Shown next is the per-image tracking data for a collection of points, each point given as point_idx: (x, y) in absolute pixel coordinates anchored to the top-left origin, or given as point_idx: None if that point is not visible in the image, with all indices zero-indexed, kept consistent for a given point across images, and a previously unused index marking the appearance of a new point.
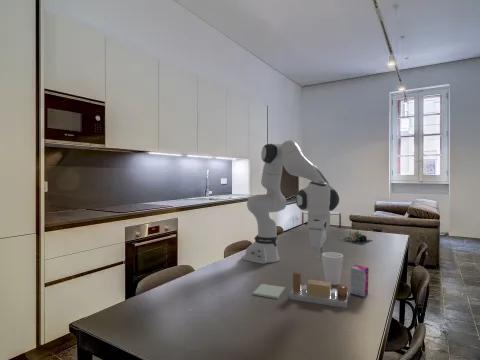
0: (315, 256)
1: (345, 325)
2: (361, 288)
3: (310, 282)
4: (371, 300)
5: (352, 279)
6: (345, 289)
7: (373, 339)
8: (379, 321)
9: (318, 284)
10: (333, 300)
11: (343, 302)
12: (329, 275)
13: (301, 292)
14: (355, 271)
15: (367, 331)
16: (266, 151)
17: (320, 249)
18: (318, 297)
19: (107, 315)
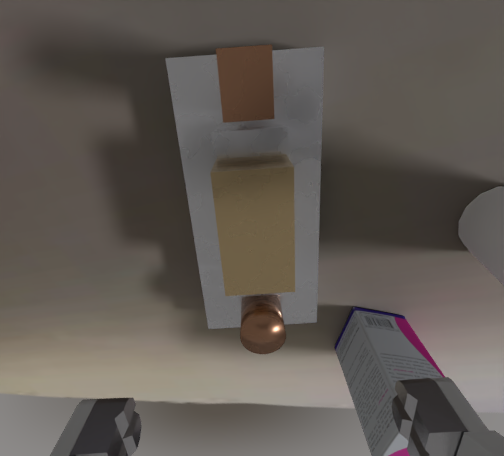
0: (76, 420)
1: (78, 323)
2: (347, 369)
3: (237, 190)
4: (320, 367)
5: (373, 367)
6: (249, 347)
7: (52, 385)
8: (168, 391)
9: (226, 240)
10: (201, 283)
11: (207, 315)
12: (492, 232)
13: (209, 128)
14: (387, 421)
15: (85, 372)
16: None
17: (417, 432)
18: (192, 225)
19: None
